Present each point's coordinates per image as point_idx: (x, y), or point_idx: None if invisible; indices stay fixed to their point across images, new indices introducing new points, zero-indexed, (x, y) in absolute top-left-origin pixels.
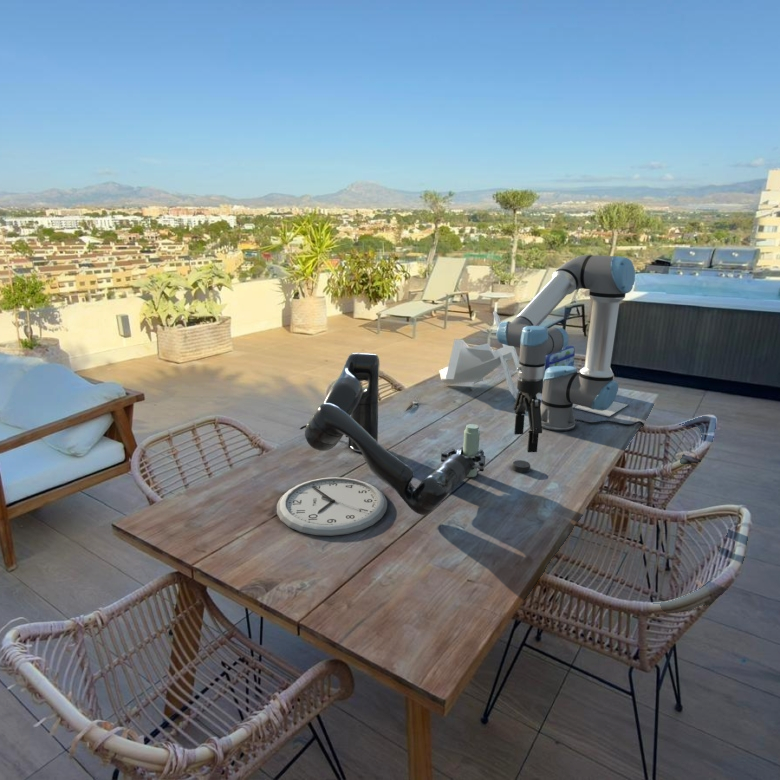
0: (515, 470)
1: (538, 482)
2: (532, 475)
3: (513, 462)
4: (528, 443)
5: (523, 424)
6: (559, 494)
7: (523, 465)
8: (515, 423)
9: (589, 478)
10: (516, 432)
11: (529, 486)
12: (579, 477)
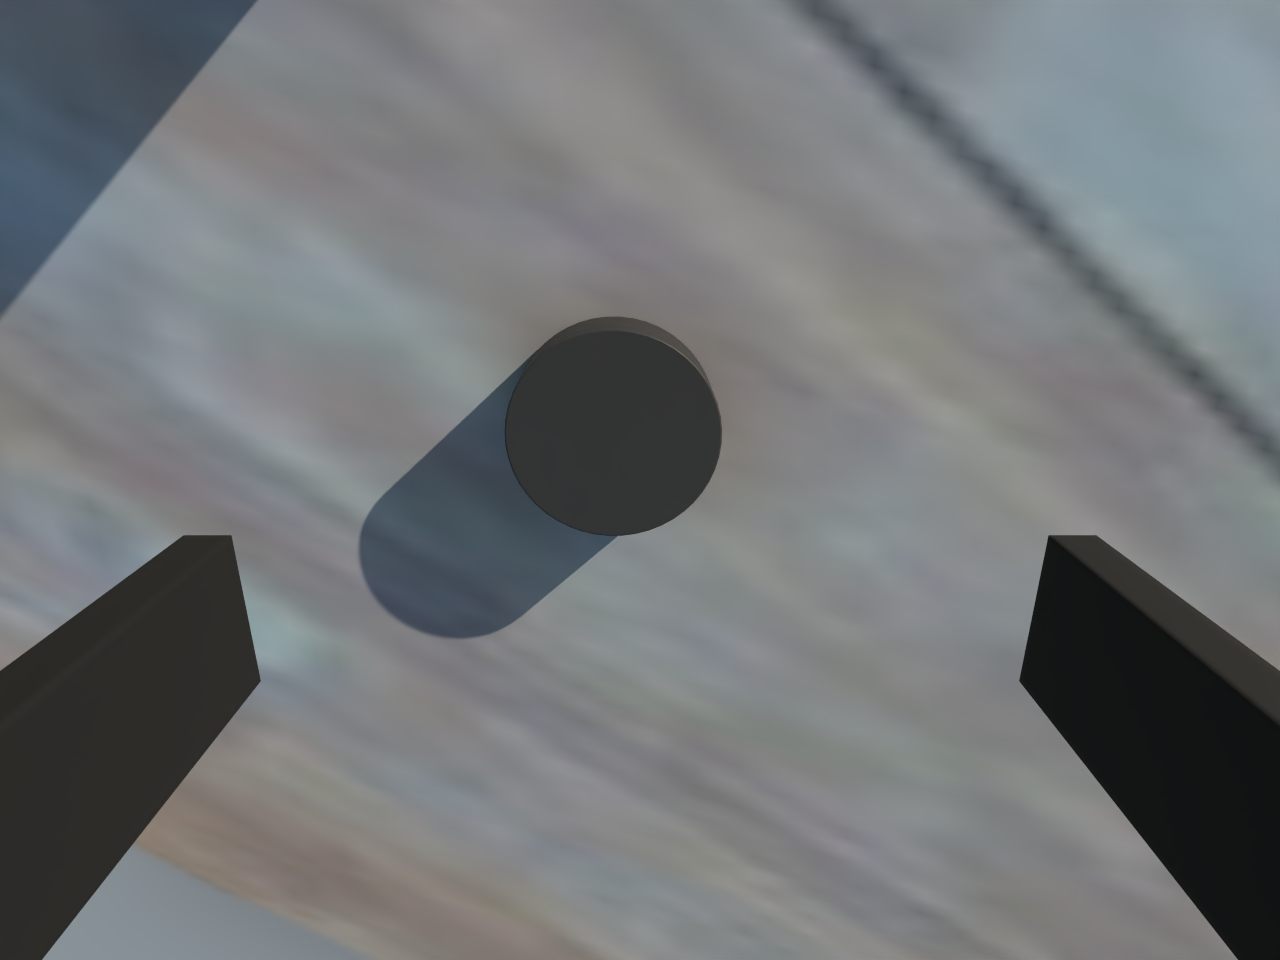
0: (559, 334)
1: (291, 505)
2: (457, 494)
3: (659, 345)
4: (88, 628)
5: (1147, 832)
6: (54, 619)
7: (566, 447)
8: (1242, 673)
9: (426, 932)
10: (1064, 582)
11: (175, 380)
12: (440, 873)
